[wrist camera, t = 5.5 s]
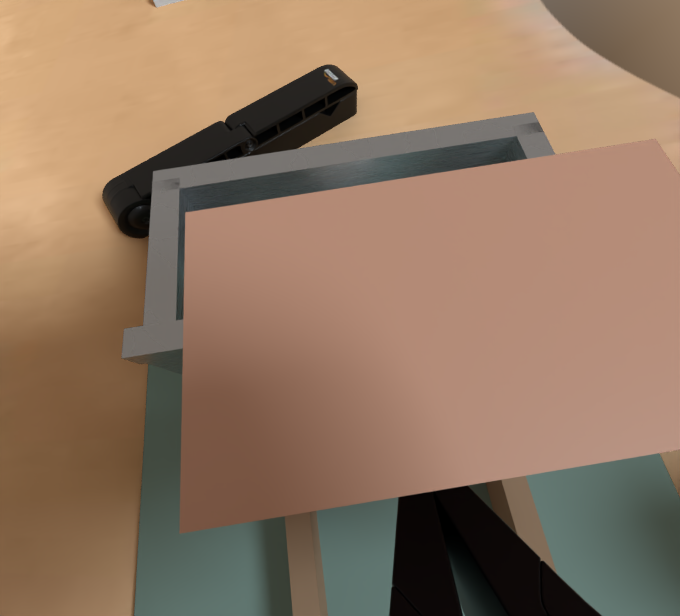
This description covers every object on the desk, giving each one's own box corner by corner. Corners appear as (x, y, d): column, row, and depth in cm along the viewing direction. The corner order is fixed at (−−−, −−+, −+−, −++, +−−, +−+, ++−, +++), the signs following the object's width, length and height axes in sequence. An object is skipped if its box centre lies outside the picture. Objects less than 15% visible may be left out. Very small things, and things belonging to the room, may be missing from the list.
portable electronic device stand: (138, 246, 21) (105, 218, 18) (122, 219, 22) (88, 188, 19) (359, 116, 24) (360, 75, 21) (339, 97, 25) (337, 55, 22)
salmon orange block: (463, 429, 16) (845, 422, 3) (317, 453, 15) (179, 533, 3) (441, 348, 17) (656, 138, 5) (308, 369, 17) (185, 212, 5)
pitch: (812, 801, 11) (920, 888, 9) (122, 926, 11) (65, 1045, 9) (525, 173, 21) (544, 144, 19) (158, 230, 21) (136, 207, 19)
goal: (536, 333, 17) (645, 273, 11) (211, 386, 17) (121, 358, 10) (484, 200, 20) (545, 90, 14) (209, 243, 20) (139, 153, 14)
